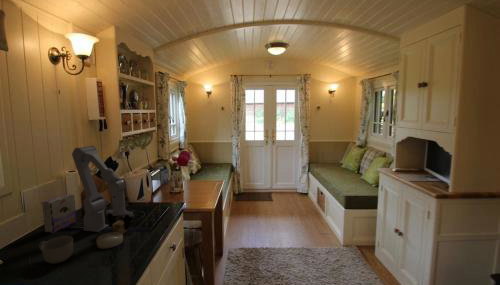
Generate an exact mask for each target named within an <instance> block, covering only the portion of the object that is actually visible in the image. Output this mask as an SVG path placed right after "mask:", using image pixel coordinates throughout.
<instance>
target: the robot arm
mask: <svg viewBox="0 0 500 285" xmlns="http://www.w3.org/2000/svg"><path fill="white" fill-rule="evenodd" d="M71 155H72V158H73V161H74V165H75V167H76V171H77V173H78V176H79V179H80V182H81V185H82V188H83V191H84V194H85V199H84V200H83V201H82V202H83V211H84V212H85V213H84V216H83V227H84V228H83V229H82V230H83V231H86V232H87V231H88V232H95V233H99V232H100V231H102V230H104V229H105V228H107V227H109V226H111V229H112V230H113V225H112V224H114V223H116V222H117V216H123V217H121V218H122V221H124V226H125V230H127V229H128V230H129V229H130V225H131V221H132V219H133V217H134V212H133V211H130V210H127V209H126V199H125V198H126V197H125V196H126V195H125V189H126V188H127V182H126V180H125V178H121V177H119V176H118V175H117V173H115V171H114V170H113V169H112V168H110V167H109V168H108V166H107V165H106V164H105V163H104V161H103V159H102V157H100V155H99V150H98V149H97V148H96V146H94V145H89V146H83V147H75V148H74V149H73V150H72V154H71ZM90 163H91V164H93V166H95V167H96V168H97V170H99V171H100V177H102V179H103V180H104V181H105V183H107V185H108V186H107V187H108V190H109V193H110V195H111V200H112V201H111V202H112V209H107V210H106V208H107V206H108V202H107V200H106V198H105V197H104V194H102V193H100V192H98V188H97V186H96V183H95V181H94V178H93V175H92V174H93V173H92V172H91V169H90V165H89V164H90ZM105 210H106V211H105ZM105 215H106V217H105ZM105 218H106V220H107V221H108V222H109V224H110V225H109V224H106V220H105Z"/></svg>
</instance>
